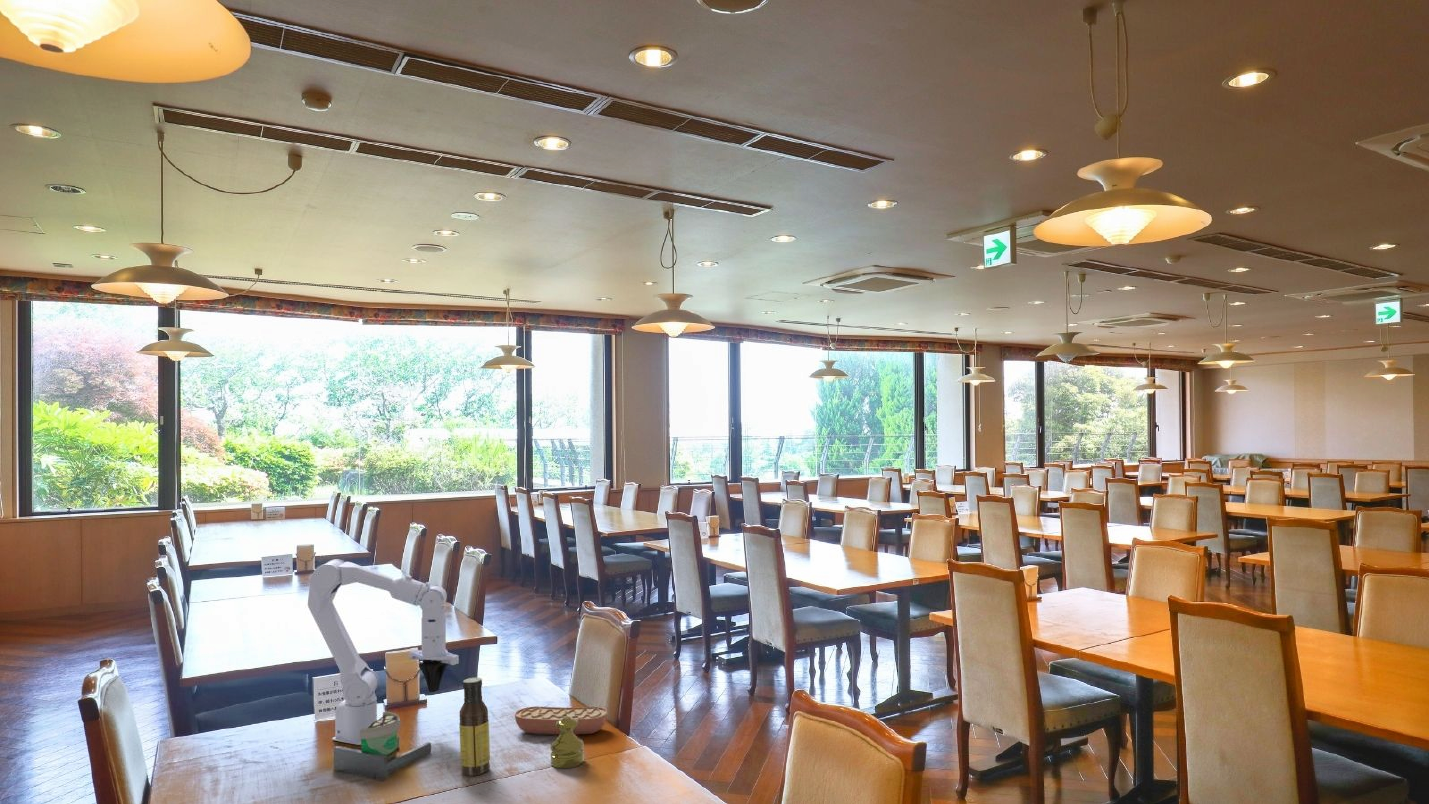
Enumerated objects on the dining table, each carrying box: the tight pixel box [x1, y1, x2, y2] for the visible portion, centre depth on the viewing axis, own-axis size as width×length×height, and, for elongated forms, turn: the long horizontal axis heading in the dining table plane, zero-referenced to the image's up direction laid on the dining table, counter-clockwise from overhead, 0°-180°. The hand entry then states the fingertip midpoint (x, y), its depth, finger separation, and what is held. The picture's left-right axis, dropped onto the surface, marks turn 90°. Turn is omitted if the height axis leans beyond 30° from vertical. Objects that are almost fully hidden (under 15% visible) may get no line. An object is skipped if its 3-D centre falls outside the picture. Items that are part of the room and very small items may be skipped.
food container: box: [360, 711, 402, 761], centre depth 191 cm, size 12×6×10 cm, turn 177°
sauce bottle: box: [458, 677, 491, 777], centre depth 187 cm, size 6×6×20 cm
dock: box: [333, 736, 432, 782], centre depth 192 cm, size 15×16×5 cm
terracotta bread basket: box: [514, 705, 608, 736], centre depth 210 cm, size 23×10×5 cm, turn 86°
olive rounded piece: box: [550, 717, 585, 769], centre depth 191 cm, size 7×8×10 cm
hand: (433, 690), depth 211 cm, fingers closed
